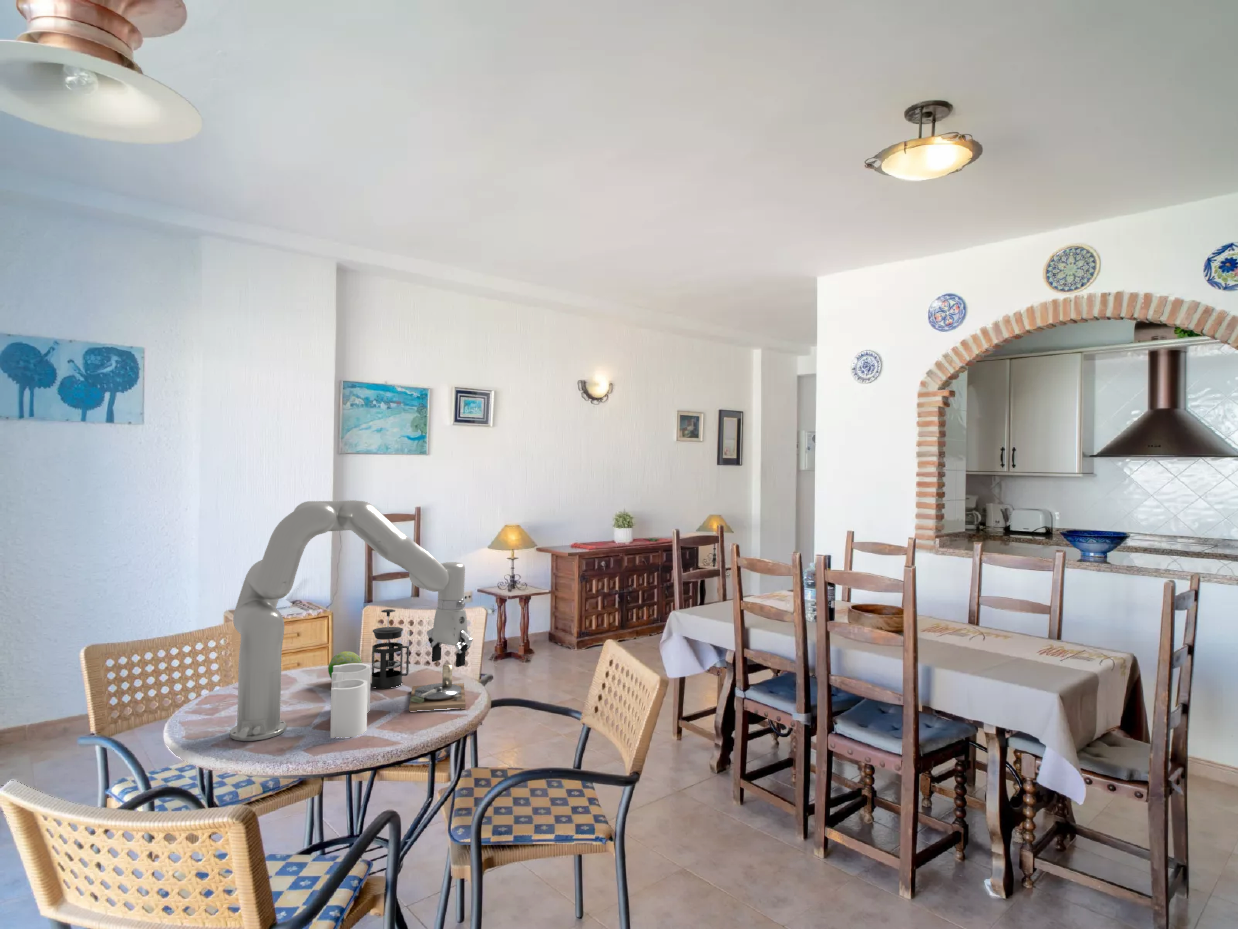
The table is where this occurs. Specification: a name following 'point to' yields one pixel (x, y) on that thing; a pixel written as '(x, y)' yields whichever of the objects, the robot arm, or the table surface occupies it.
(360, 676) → the white utensil holder
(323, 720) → the table surface
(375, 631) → the french press
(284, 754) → the table surface
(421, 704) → the dial board
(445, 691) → the dial
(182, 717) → the table surface
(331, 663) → the decorative ball
